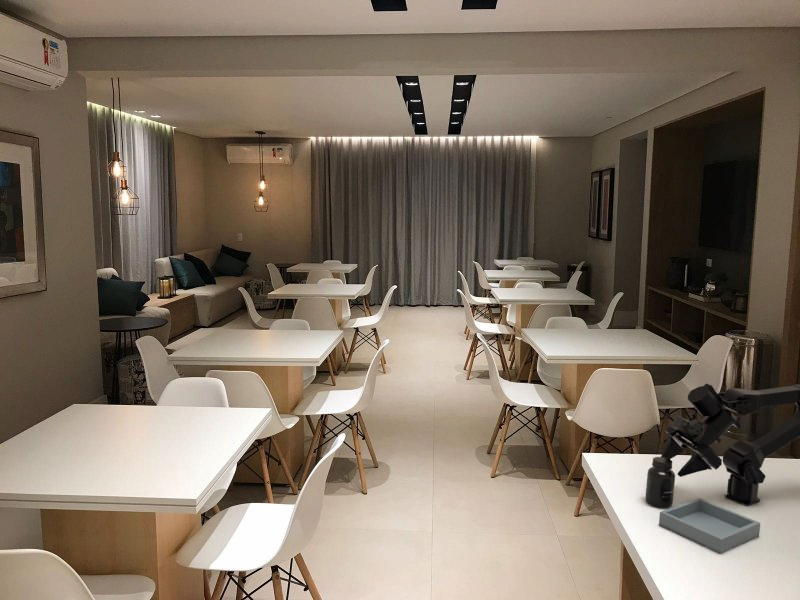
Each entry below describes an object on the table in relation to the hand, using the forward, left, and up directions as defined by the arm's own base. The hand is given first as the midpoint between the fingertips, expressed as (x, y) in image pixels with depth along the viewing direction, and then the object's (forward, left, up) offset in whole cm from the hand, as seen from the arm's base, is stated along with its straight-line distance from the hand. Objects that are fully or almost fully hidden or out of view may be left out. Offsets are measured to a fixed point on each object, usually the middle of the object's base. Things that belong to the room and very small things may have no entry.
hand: (669, 468), depth 177 cm
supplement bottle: (+1, +2, -10) cm, 10 cm away
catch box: (-15, +5, -9) cm, 19 cm away
